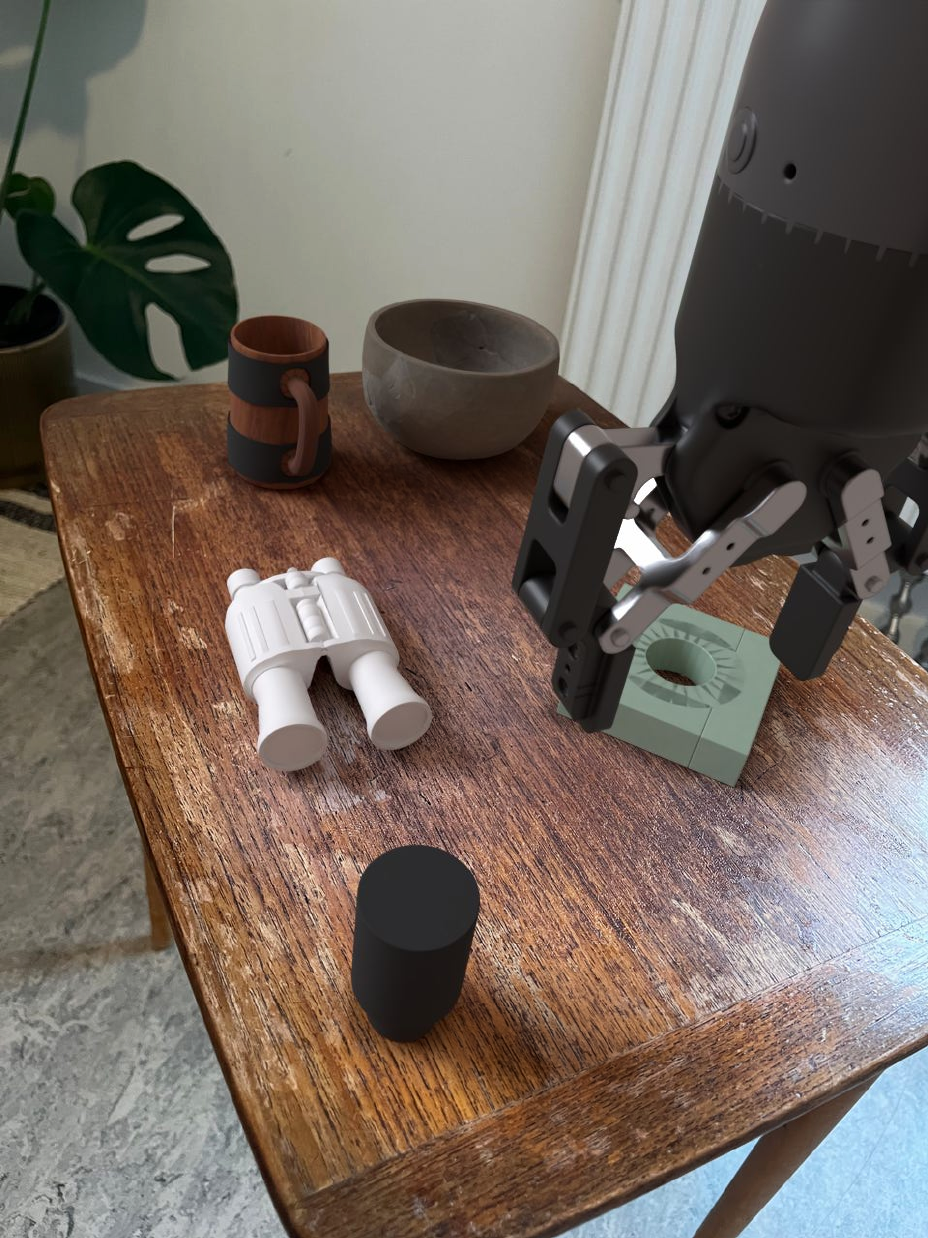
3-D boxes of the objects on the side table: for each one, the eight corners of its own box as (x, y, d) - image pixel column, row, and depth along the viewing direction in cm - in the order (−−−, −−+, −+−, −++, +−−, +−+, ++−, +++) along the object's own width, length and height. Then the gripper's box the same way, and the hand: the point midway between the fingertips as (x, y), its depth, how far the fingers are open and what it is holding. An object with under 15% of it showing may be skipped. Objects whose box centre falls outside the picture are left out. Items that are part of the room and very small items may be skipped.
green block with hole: (773, 675, 68) (787, 644, 66) (734, 788, 60) (748, 755, 58) (615, 614, 71) (624, 582, 70) (556, 713, 63) (564, 679, 61)
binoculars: (260, 783, 56) (258, 727, 53) (210, 610, 67) (206, 556, 64) (430, 747, 59) (437, 693, 56) (356, 589, 70) (359, 536, 67)
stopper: (474, 987, 47) (500, 876, 42) (425, 1080, 44) (446, 973, 38) (382, 939, 49) (395, 826, 43) (327, 1025, 45) (333, 914, 39)
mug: (258, 523, 75) (254, 386, 67) (215, 447, 83) (208, 316, 75) (361, 505, 78) (368, 373, 71) (310, 433, 86) (312, 307, 79)
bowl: (470, 376, 99) (482, 280, 92) (583, 459, 89) (605, 357, 82) (321, 408, 90) (324, 305, 84) (428, 504, 80) (440, 394, 73)
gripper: (723, 255, 17) (558, 826, 27) (1225, 235, 22) (927, 721, 33) (536, 133, 22) (457, 654, 32) (981, 140, 27) (790, 587, 38)
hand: (693, 687), depth 33 cm, fingers open, 8 cm apart
